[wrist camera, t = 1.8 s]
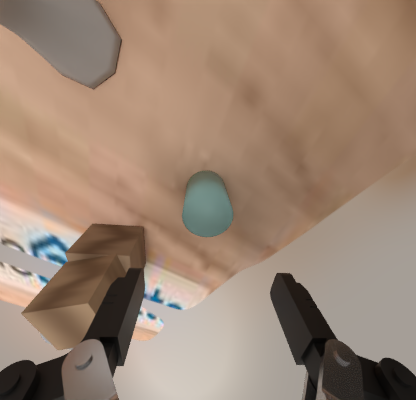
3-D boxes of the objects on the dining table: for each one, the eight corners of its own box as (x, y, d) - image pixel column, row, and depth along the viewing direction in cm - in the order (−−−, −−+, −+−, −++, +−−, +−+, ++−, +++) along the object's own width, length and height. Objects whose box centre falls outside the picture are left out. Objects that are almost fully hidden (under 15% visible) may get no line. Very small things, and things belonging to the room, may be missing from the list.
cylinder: (227, 172, 24) (237, 194, 17) (222, 206, 26) (229, 238, 19) (187, 169, 23) (183, 191, 17) (186, 204, 25) (181, 235, 19)
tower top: (116, 253, 21) (87, 303, 16) (134, 289, 24) (115, 341, 18) (66, 262, 21) (21, 313, 16) (89, 296, 24) (57, 350, 19)
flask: (97, 103, 20) (12, 98, 11) (26, 44, 17) (-160, -25, 8) (135, 39, 18) (68, -34, 9) (59, -38, 15) (-144, -251, 6)
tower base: (143, 226, 27) (129, 255, 21) (145, 262, 30) (133, 296, 24) (92, 223, 26) (65, 253, 21) (100, 260, 29) (78, 294, 24)
